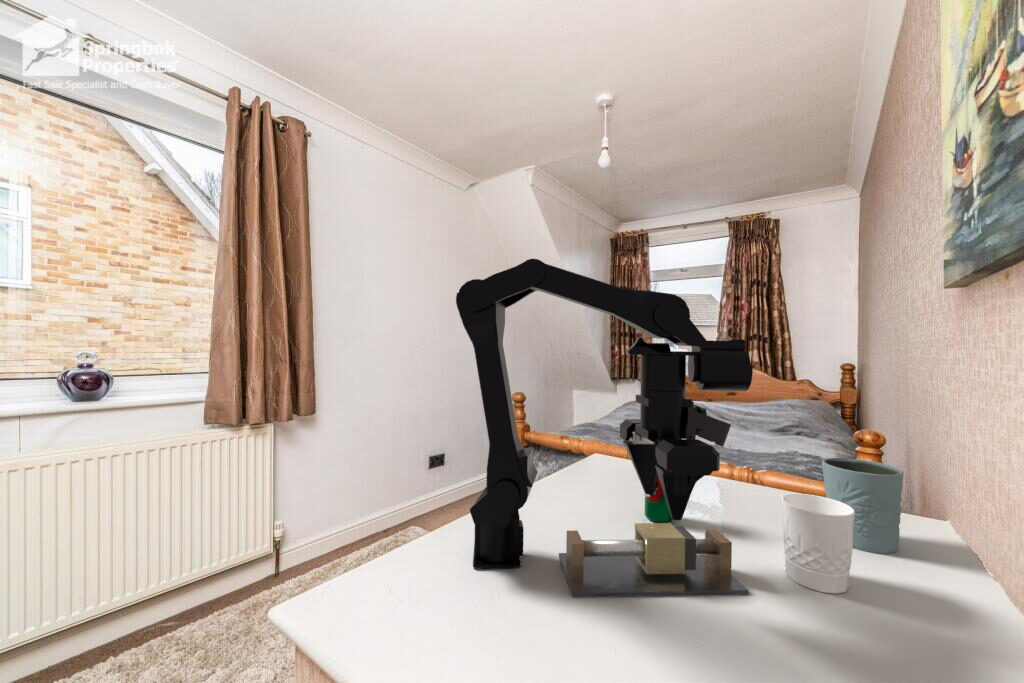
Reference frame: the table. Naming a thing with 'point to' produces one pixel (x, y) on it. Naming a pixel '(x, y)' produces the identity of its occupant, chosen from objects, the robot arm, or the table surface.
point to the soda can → (657, 505)
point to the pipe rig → (620, 574)
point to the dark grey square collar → (688, 548)
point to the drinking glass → (868, 500)
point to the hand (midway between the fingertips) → (661, 505)
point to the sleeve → (661, 548)
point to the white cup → (818, 541)
